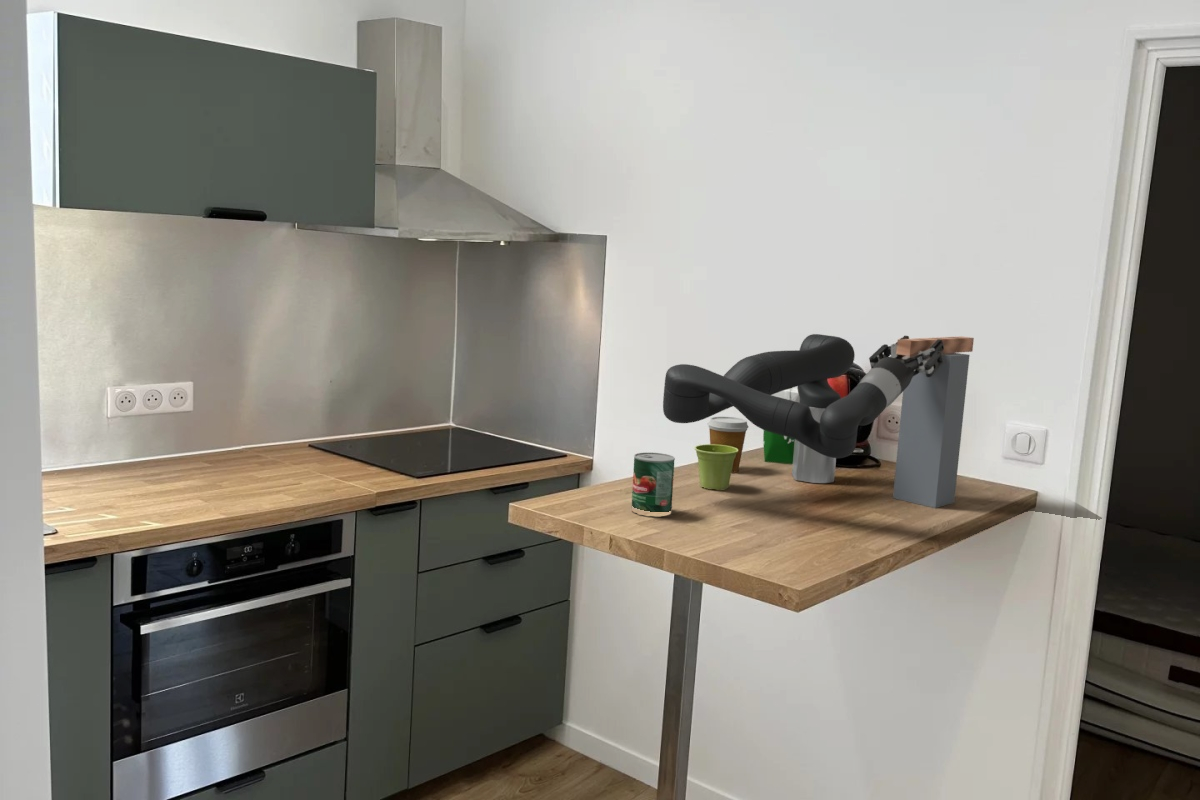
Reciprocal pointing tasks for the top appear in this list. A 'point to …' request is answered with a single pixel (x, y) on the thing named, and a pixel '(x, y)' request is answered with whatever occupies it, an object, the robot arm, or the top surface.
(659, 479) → the canned tomato
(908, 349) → the batten
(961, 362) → the pedestal
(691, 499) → the top surface
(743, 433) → the disposable coffee cup
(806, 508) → the top surface
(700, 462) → the plant pot
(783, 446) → the milk carton
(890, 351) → the robot arm
